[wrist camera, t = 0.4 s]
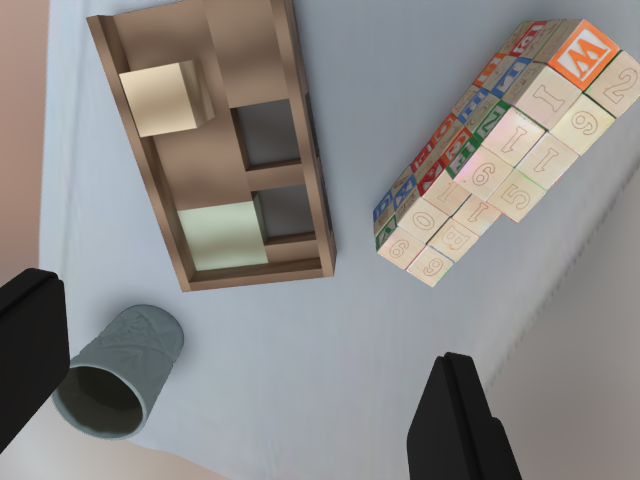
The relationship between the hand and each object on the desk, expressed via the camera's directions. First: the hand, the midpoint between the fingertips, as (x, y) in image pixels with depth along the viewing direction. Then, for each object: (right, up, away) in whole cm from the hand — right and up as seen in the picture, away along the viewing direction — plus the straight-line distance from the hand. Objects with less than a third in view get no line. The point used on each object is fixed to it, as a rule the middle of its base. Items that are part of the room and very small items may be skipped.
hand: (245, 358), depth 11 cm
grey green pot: (-19, -8, +45) cm, 50 cm away
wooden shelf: (-6, +12, +33) cm, 36 cm away
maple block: (-11, +16, +29) cm, 35 cm away
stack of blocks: (+16, +12, +32) cm, 37 cm away
